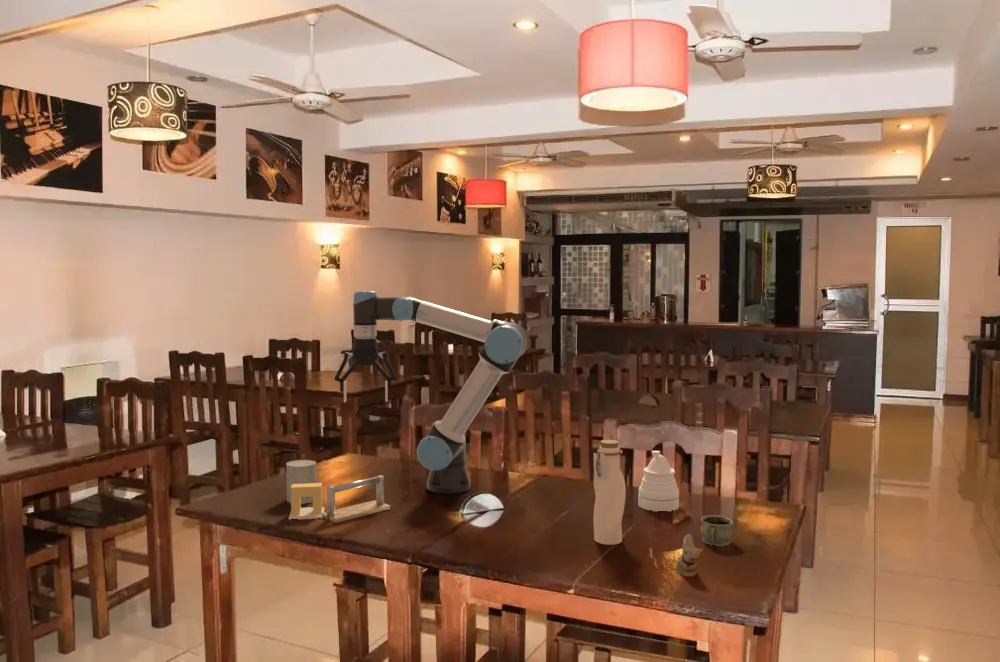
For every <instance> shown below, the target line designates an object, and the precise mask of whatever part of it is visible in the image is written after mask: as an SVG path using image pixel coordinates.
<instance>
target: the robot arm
mask: <svg viewBox="0 0 1000 662" xmlns="http://www.w3.org/2000/svg"><path fill="white" fill-rule="evenodd" d="M352 303H353V304H352V306H353V337H355V338H354V339H353V353H352V352H348V351H346V352H344V354H343V360H342V362H341V364H340V366H339V369H338V370H337V372H336V375H334V381H337V382H339V391H340V393H343V403H346V402H347V381H345V380H346V379H347V378H348V377H349V376H350V375H351V373H352V372H353V371H354V370H355V368H357V366H360V367H365V366H366V367H370V366H372V365H373V366H374V367H375V368H376V370H378V372H379V373H380V374H381V376H383V377H384V379H385V381H384V382H385V383H384V390H385V391H384V393H385V395H384V398H385V399H384V401H385V402H388V401H389V400H388V397H389V396H388V392H391V391H392V381H395V380H397V375H396V373H395V371H394V369H393V367H392V366H391V363H390V361H389V360H388V357H387V352H386V351H382V352H378V341H377V340H378V339H377V335H378V331H377V329H378V328H377V327H378V325H377V324H378V321H398V322H402V321H404V322H405V321H413V322H417V323H421V324H423V325H427V326H430V327H432V328H433V327H434V328H437V329H440V330H442V331H446V332H450V333H453V334H456V335H459V336H462V337H466V338H469V339H472V340H476V341H479V342H481V343H484V344H483V346H482V347H481V349H480V351H479V352H478V356H479V361H478V362H477V364H476V366H475V367H474V369H473V370H472V371H471V373H470V375H469V377H468V378H467V380H466V381H465V383H464V385H463V386H462V388H461V389H460V391H459V392H458V394H457V395H456V397H455V398H454V400H453V402H452V403H451V404H450V406H449V408H448V410H447V411H446V413H445V414H444V415H443V417H442V419H441V420H436V421H434V422H433V423H432V425H431V427H430V429H429V431H428V432H427V434H426V435H425V437H423V438H422V439H421V440H420V441H419V443H418V445H417V447H416V455H417V459H418V461H419V462H420V464H421V465H422V466H423V467H424V468H426V470H429V474H428V478H427V480H426V490H427V491H429V492H431V493H434V494H444V495H447V494H448V495H450V494H460V493H465V492H468V491H469V490H470V489H471V479H470V475H469V473H468V469H467V467H466V451H467V450H466V449H467V448H466V438H467V435H466V434H467V430H468V428H470V425H471V424H472V422H473V421H474V419H475V418H476V416H477V414H478V413H479V411H480V410H481V409H482V407H483V405H484V404H485V403H486V401H487V399H488V398H489V396H490V395H491V393H492V391H493V390H494V388H495V387H496V386H497V384H498V383H499V380H500V378H501V377H502V376H503V375H505V374H509V373H510V372H511V370H512V369H513V367H514V366H515V365H516V363H517V362H518V359H520V357H521V356H523V355H524V354H525V353H526V351H528V349H529V345H530V336H529V333H528V331H527V329H525V328H524V327H523V326H522V325H520V324H518V323H514V322H509V321H505V320H504V321H503V320H499V319H493V320H490V319H486V318H482V317H480V316H475V315H472V314H469V313H465V312H462V311H458V310H455V309H452V308H448V307H445V306H441V305H438V304H434V303H433V302H428V301H425V300H421V299H417V298H416V297H414V296H411V295H404V296H403V295H402V296H395V297H393V296H392V297H390V296H389V297H387V296H386V297H379V296H377V292H376V291H375V290H374V291H373V290H366V291H365V290H358V291H355V292H354V294H353V302H352ZM351 358H353V360H354V362H353V363H352V365H351V366H350V367H349V368H348V369H347V370H346V372H345V373H344V374H343V375H342V372H343V370H344V369H345V366H346V364H347V362H348V360H350V359H351ZM378 358H380V359H382V360H383V362H384V364H385V366H386V368H387V370H388V372H389V374H390V375H389V374H388V373H387V372H386V371H385V370H384V368H383V367H381V365H380V364H379V363H378V362H377V359H378ZM341 375H342V377H340V376H341Z"/></svg>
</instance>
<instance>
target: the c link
mask: <svg viewBox="0 0 1000 662" xmlns="http://www.w3.org/2000/svg"><path fill="white" fill-rule="evenodd" d="M310 496H313V502H312V507H313V514H321V513H322V507H323V483H322V482H316V483H308V484H292V486H291V503H290V507H291V508H290V513H291V515H300V512H301V508H302V504H301V497H310Z"/></svg>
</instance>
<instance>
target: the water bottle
mask: <svg viewBox="0 0 1000 662" xmlns="http://www.w3.org/2000/svg"><path fill="white" fill-rule="evenodd" d="M623 453H624V452H623V450H622V449H621V448H620V446H619V441H618V440H615V439H614V440H613V439H602V440H600V445H599V448H598V449H597V450H596V452H593V488H594V489H593V490H594V495H595V501H594V507H593V538H594V539H593V540H594V541H595V542H596V543H599V544H602V545H618V544H620V543H622V542H623V534H622V533H623V532H622V531H623V530H622V529H623V528H622V527H623V526H622V520H623V517H624V511H625V504H626V495H627V491H626V490H627V489H626V481H625V480H626V479H625V478H624V473H623V472H622V470H621V467H620V466H621V459H620V458H621V455H623Z"/></svg>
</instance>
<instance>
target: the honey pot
mask: <svg viewBox="0 0 1000 662" xmlns="http://www.w3.org/2000/svg"><path fill="white" fill-rule="evenodd" d="M651 455H652V456H653V457H652V459H651V460H650V461H649V463H648V465H647V466H646V467H644V468H643V473H644V475H643V477H642V479H641V481H640V486H639V487H638V499H637V500H638V503H637V505H638V507H639V508H640V509H643V510H646V511H650V510H652V511H651V512H658V511H668V512H673V511H672V510H674V511H676V509H677V510H679V508H680V490H679V488H678V484H677V480H676V479H675V476H674V475H675V474H676V470H675V469H674V468H672V467H671V465H670V463H669V461H668V460H667V458H666V457H665V456H664V455H662V454H661V451H660V450H652V451H651Z"/></svg>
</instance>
